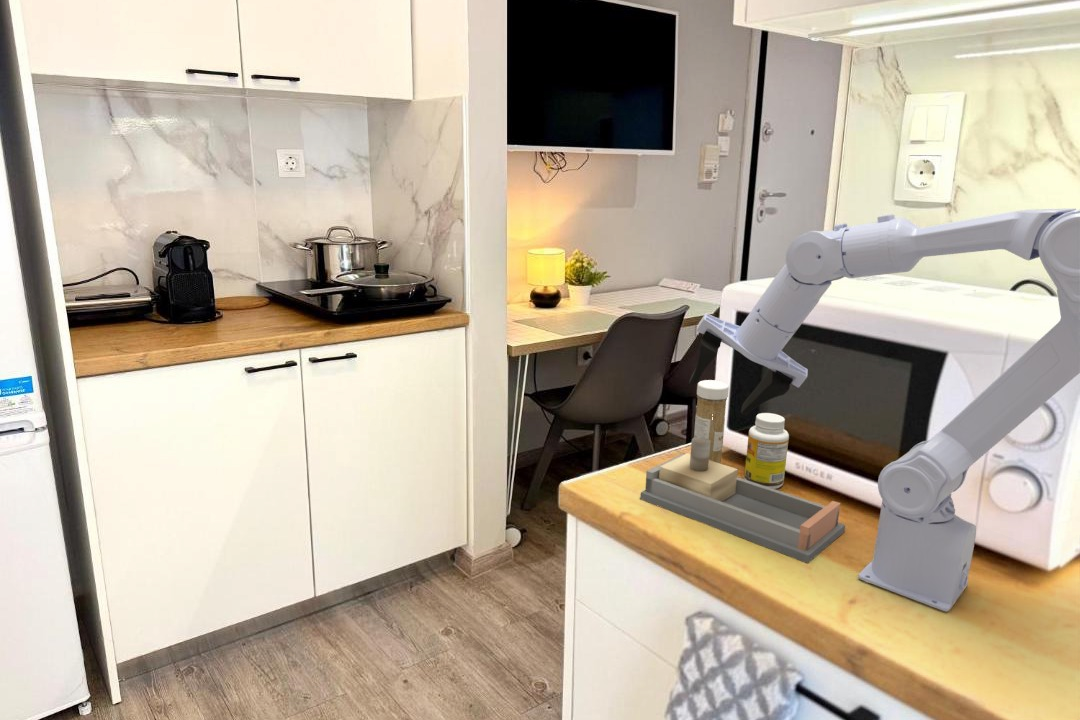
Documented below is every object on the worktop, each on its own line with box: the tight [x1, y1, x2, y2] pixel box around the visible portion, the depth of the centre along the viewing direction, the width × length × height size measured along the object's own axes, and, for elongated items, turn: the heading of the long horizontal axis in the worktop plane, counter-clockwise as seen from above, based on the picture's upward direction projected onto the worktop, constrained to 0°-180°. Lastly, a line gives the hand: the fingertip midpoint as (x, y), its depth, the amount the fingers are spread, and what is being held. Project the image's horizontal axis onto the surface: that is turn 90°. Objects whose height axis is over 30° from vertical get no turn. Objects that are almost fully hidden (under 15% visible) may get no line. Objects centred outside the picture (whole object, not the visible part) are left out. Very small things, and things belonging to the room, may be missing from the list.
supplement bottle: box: [744, 412, 790, 490], centre depth 109 cm, size 6×6×10 cm
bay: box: [639, 452, 846, 564], centre depth 100 cm, size 24×11×4 cm, turn 47°
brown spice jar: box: [693, 379, 730, 464], centre depth 114 cm, size 5×5×14 cm
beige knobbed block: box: [659, 437, 739, 502], centre depth 103 cm, size 8×7×8 cm
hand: (717, 396), depth 99 cm, fingers open, 7 cm apart
